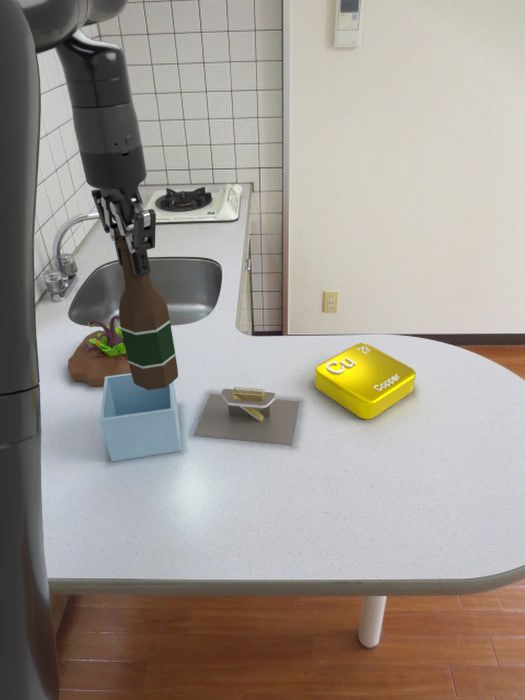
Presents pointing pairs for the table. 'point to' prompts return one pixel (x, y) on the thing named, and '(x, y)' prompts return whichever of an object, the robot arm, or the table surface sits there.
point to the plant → (100, 355)
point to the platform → (248, 417)
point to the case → (138, 419)
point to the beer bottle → (145, 328)
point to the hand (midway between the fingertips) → (134, 269)
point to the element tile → (364, 380)
